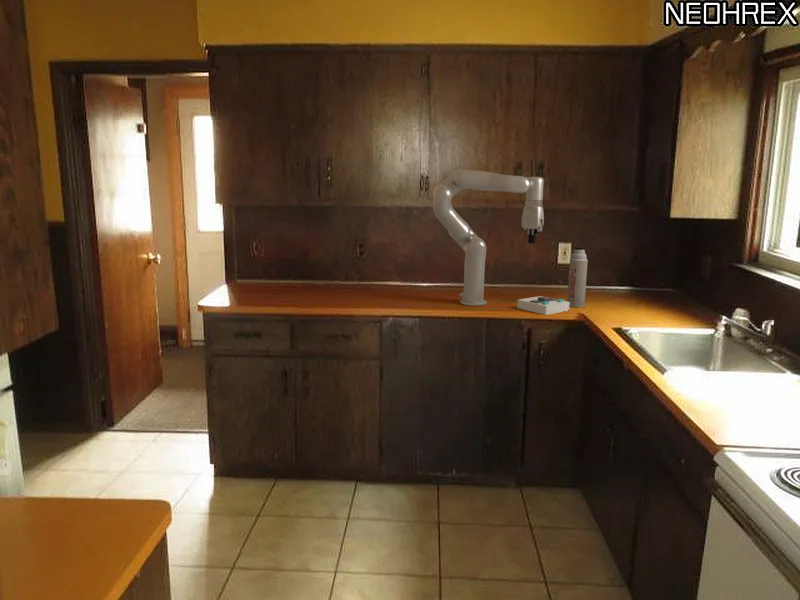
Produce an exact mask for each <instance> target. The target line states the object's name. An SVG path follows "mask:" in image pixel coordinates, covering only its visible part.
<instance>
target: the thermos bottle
mask: <svg viewBox="0 0 800 600" xmlns="http://www.w3.org/2000/svg"><path fill="white" fill-rule="evenodd" d="M573 249H574V250H573V253H572V254H571V258H570V259H569V270H568V287H567V300H566V301H567V302H570V304H569V306H570V307H569V308H574V307H582V308H584V307H585V304H586V302H585V301H586V289H587V288H586V287H587V276H588V275H587V274H588V273H587V271H588V262H589V259H587V254H586V252H585V250H586V247H584V246H574V248H573Z"/></svg>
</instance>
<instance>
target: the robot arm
mask: <svg viewBox="0 0 800 600" xmlns="http://www.w3.org/2000/svg"><path fill="white" fill-rule="evenodd" d="M544 182H545V179H544V178H543V177H542V176H530V177H527V176H521V175H511V174H509V175H508V174H502V173H497V172H491V171H481V170H473V169H472V170H471V169H457V170H456V171H455V172H453V173H452V174H450V175H449V176H448V177H446V178H445V179H444V180H443V181H441V182H440V183H438V184H437V185H436V186H435V187H434V188H433V190H432V196H433V199H432V209H433V214H434V215H435V217H436V218H437V220H438V221H439V222H440V223H441V224H442V226H443V227H444V228H445V230H447V231H448V234H449V236H451V238H452V239H453V240H454V241H455V243H456V244H457V245H459V247H460V248H461V249H462V250H463V251H464V252H465V256H464V267H463V268H464V269H463V270H464V271H463V272H464V273H463V291H462V292H461V293H459V294H458V296H459V297H460V298H461V299H460V300H459V303H460V304H461V305H464V306H473V307H476V306H485V305H487V303H488V301H487V300H484V293H485V268H486V258H487V257H486V256H487V245H486V242H485V241H484V240H483V239H482V238H481V237H479V235H477V234H476V233H475V232H474V230H473V229H472V228H471V227H470V225H469V224H468V223H467V222H466V221H465V220H464V219H463V218H462V217H461V216H460V215H459V214H458V212H457V211H456V210H455V209H454V207H453V206H452V200H453V199H452V198H453V197H454V196H455V195H456V194H458V193H459V192H460V191H462V190H463V189H467V190H475V191H487V192H488V191H489V192H505V193H507V192H508V193H513V194H514V193H516V194H525V193H526V195H525V196H526V197H525V198H526V199H525V201H524V204H525V206H524V208H523V210H522V216H521V227H522V228H523V230H524V231H526V232H527V236H528V240H527V241H528V244H533V245H534V244H536V242H537V241H536V240H537V239H536V238H537V237H536V236H537V235H538V234H539V233H540V232H543V228H544V224H545V223H544V222H545V221H544V220H545V216H544V207H543V199H544Z"/></svg>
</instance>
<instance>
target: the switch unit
mask: <svg viewBox="0 0 800 600" xmlns="http://www.w3.org/2000/svg"><path fill="white" fill-rule="evenodd" d="M538 297H544V296H542V295H537V296H533V297H526V298H520V299H517V305H516V307H517V309H519V310H523V311H527V312H531V313H532V312H533V313H536V314H541V315H543V316H547V315H553V314H558V313H564V312H563V311H565V312H569V311H570V307H569V304H570V302H567V300H565V299H563V298H556V299H557V300H556V301H550V300H549V302H546V301H545V302H542V303H538V304H537V303H532V302H530V301H531V300H537V301H538ZM546 297H547V296H546ZM547 298H549V297H547ZM568 310H569V311H568Z"/></svg>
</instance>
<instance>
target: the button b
mask: <svg viewBox="0 0 800 600" xmlns="http://www.w3.org/2000/svg"><path fill="white" fill-rule="evenodd" d="M537 297H538V296H537ZM550 298H551V297H548V298H547V296H543V297H538V301H542V302H545V301H546V302H549V300H550Z"/></svg>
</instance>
